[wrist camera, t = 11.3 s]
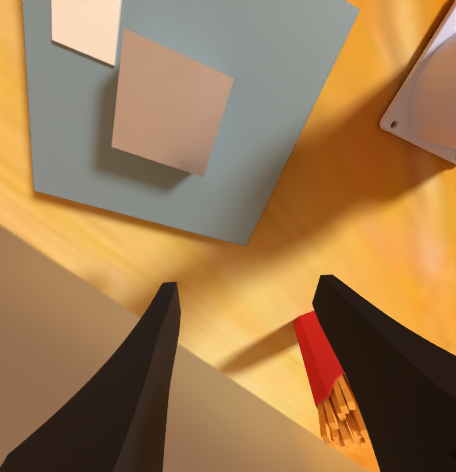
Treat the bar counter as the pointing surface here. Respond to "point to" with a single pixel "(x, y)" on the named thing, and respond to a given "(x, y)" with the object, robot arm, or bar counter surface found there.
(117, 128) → the tan cubic block
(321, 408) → the french fries
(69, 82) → the hole plate
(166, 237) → the bar counter surface
